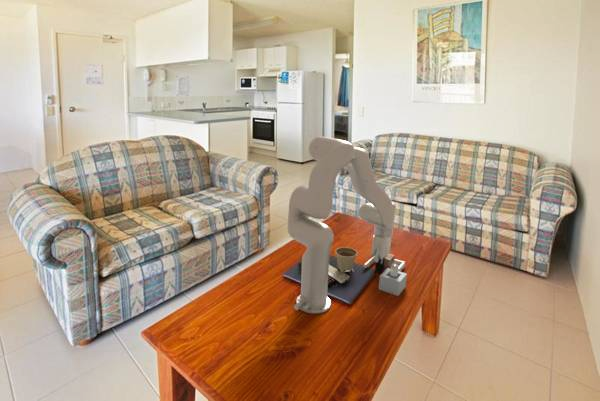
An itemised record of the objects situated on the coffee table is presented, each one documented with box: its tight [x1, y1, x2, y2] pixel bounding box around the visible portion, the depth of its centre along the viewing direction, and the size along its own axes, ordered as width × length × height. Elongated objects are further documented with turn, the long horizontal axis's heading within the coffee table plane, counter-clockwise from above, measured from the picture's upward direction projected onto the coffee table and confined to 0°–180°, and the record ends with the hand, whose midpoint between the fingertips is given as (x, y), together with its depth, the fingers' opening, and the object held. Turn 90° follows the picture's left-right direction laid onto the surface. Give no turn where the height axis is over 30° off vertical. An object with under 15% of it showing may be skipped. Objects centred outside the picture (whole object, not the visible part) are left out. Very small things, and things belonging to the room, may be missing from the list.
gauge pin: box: [390, 264, 399, 279], centre depth 143 cm, size 3×3×10 cm
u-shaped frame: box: [363, 256, 406, 272], centre depth 160 cm, size 13×14×2 cm
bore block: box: [378, 268, 408, 297], centre depth 144 cm, size 8×8×6 cm
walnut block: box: [383, 252, 396, 272], centre depth 160 cm, size 6×6×6 cm
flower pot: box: [335, 246, 358, 271], centre depth 156 cm, size 9×9×9 cm
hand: (379, 270), depth 155 cm, fingers closed
